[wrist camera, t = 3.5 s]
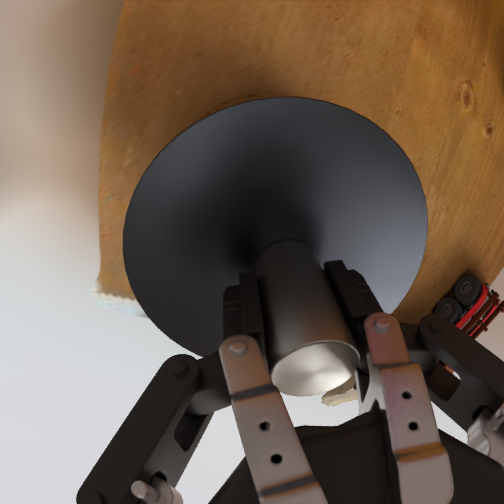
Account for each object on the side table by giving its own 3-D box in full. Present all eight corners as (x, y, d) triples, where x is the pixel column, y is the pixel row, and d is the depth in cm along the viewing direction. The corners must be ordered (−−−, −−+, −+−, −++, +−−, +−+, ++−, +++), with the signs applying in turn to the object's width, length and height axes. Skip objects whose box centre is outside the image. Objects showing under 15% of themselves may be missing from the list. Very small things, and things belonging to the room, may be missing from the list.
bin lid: (426, 98, 11) (544, 133, 5) (393, 332, 19) (434, 416, 13) (94, 127, 11) (-11, 182, 5) (173, 364, 19) (163, 462, 13)
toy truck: (386, 353, 41) (406, 396, 34) (470, 264, 34) (504, 301, 27) (413, 363, 44) (432, 401, 37) (489, 284, 36) (518, 318, 29)
